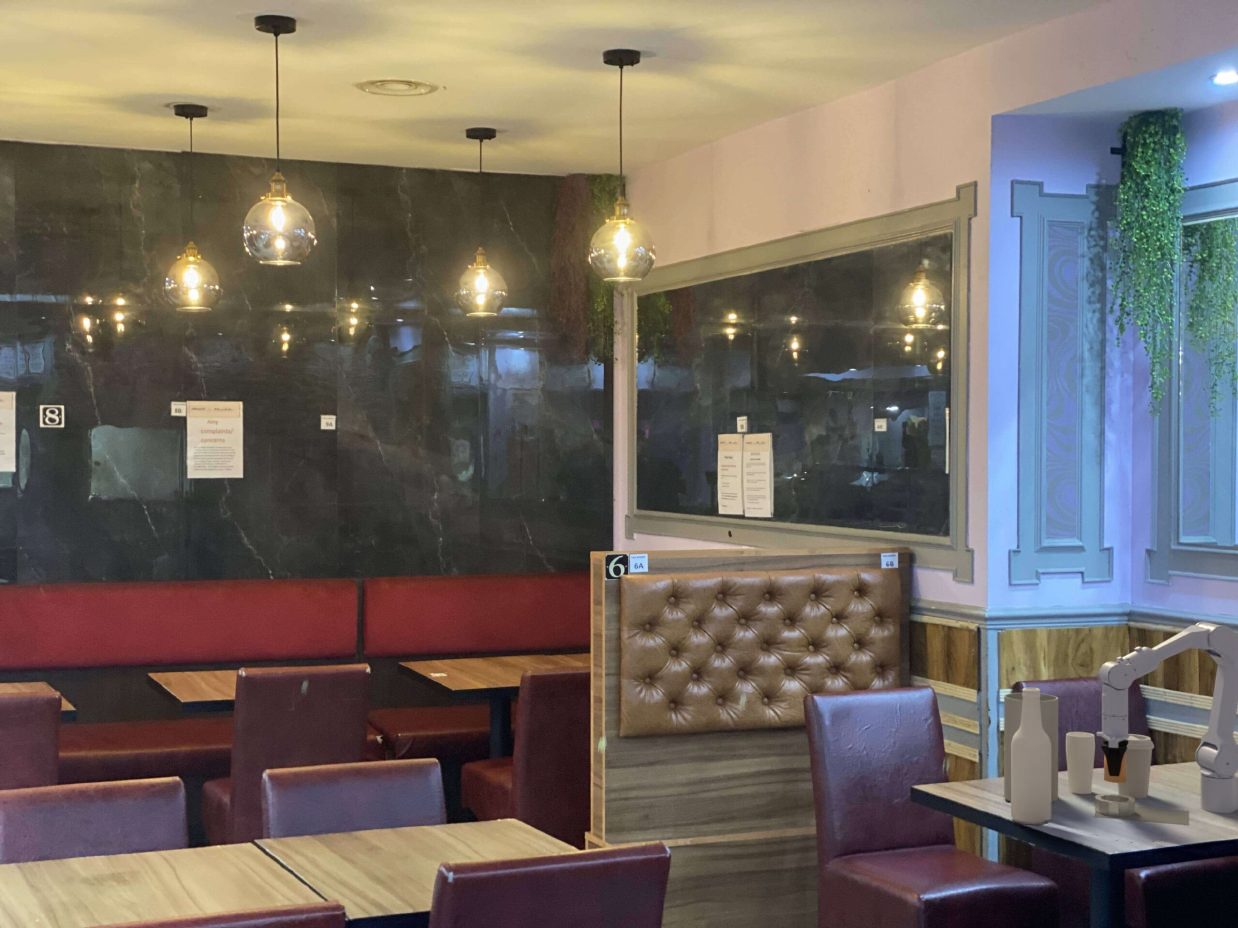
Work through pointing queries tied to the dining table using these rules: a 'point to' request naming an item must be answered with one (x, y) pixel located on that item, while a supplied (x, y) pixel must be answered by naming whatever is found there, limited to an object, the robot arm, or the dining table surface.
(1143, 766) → the coffee cup
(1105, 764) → the orange block
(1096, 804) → the beige faceted ring
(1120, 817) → the board
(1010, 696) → the cylinder vase
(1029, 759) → the alcohol
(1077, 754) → the drinking glass
